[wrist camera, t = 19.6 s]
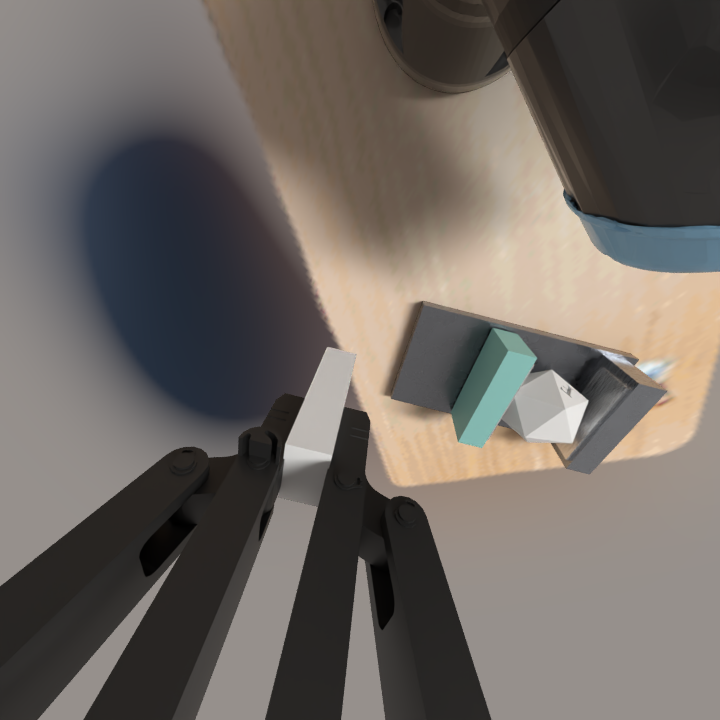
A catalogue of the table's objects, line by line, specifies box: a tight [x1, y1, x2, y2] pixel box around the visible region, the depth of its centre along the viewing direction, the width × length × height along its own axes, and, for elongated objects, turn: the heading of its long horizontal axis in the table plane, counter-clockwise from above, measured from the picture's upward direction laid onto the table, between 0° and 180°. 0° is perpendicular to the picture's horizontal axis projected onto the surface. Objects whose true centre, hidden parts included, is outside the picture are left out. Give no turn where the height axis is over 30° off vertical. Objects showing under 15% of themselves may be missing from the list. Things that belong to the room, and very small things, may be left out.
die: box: [502, 370, 588, 443], centre depth 35 cm, size 8×9×10 cm
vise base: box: [391, 301, 667, 474], centre depth 37 cm, size 14×26×8 cm, turn 77°
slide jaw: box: [451, 328, 537, 448], centre depth 36 cm, size 13×3×6 cm, turn 167°
